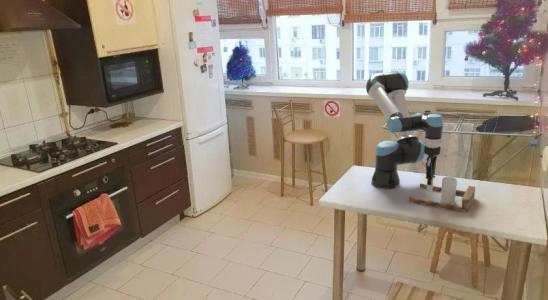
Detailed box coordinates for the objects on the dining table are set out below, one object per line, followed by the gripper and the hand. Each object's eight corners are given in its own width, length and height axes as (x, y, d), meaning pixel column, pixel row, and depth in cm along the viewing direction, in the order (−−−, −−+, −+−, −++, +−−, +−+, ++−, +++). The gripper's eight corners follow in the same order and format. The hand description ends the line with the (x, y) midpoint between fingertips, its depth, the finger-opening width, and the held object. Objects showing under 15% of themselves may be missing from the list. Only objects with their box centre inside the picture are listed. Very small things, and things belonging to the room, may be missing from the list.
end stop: (460, 210, 201) (461, 198, 199) (466, 196, 214) (467, 185, 212) (468, 211, 199) (469, 200, 197) (474, 197, 212) (475, 186, 210)
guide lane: (409, 201, 212) (409, 198, 211) (420, 186, 228) (420, 183, 227) (460, 211, 199) (460, 207, 198) (468, 195, 215) (468, 191, 214)
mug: (454, 205, 206) (457, 182, 202) (440, 203, 208) (441, 181, 204) (455, 197, 214) (457, 175, 210) (441, 195, 217) (443, 173, 213)
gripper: (437, 150, 200) (434, 196, 208) (443, 143, 210) (440, 186, 218) (421, 148, 204) (418, 193, 211) (428, 141, 214) (425, 184, 222)
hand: (429, 190), depth 215 cm, fingers closed
